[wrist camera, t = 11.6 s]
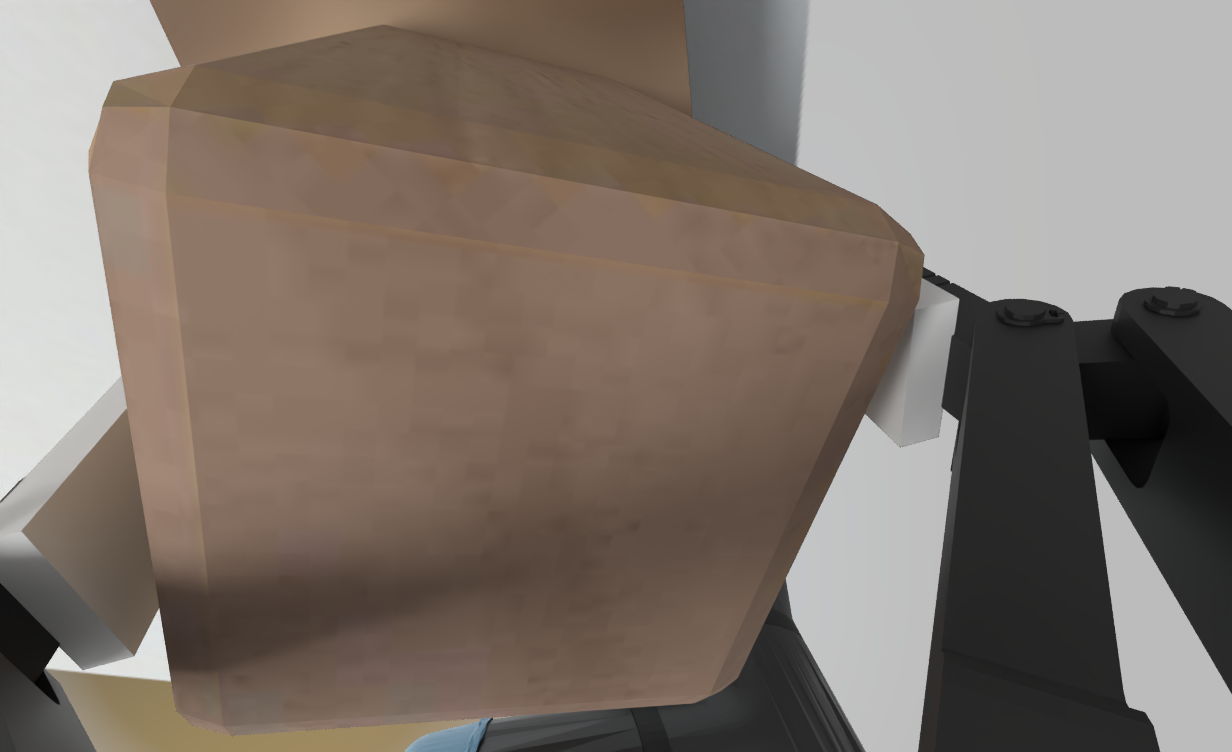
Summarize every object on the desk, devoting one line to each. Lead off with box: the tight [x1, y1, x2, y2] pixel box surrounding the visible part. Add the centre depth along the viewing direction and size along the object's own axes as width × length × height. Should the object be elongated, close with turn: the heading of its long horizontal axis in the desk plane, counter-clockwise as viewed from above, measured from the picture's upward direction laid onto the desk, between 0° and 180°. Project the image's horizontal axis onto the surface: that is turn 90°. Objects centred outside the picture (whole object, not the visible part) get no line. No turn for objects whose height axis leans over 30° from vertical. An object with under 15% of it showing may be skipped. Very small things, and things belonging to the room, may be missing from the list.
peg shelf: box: [150, 0, 692, 117], centre depth 28 cm, size 18×18×6 cm
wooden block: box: [89, 24, 924, 736], centre depth 17 cm, size 10×10×20 cm
